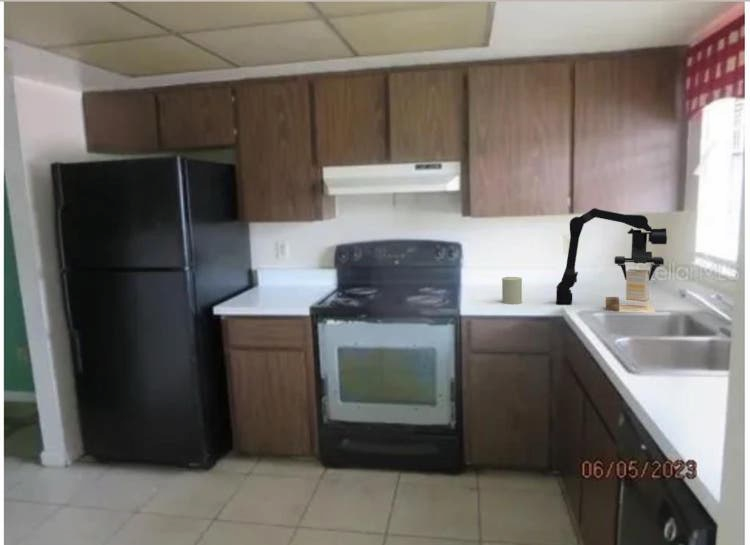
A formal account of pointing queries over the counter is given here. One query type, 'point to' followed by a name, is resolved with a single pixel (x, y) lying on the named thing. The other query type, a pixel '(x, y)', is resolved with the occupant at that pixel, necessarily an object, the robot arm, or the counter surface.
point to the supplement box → (637, 285)
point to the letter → (635, 308)
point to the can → (511, 290)
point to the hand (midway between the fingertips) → (637, 280)
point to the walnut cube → (612, 303)
